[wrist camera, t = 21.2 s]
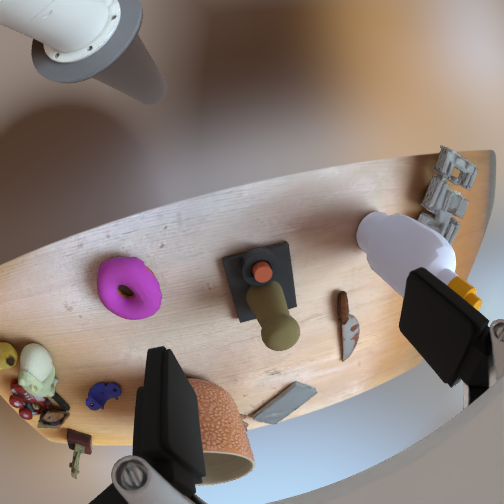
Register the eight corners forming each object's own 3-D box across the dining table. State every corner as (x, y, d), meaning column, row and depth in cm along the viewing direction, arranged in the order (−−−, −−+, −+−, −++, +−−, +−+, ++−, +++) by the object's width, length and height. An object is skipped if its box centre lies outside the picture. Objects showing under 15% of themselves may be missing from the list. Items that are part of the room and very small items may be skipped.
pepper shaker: (286, 303, 46) (309, 347, 36) (251, 315, 45) (267, 363, 35) (278, 273, 43) (302, 316, 33) (241, 286, 42) (256, 333, 33)
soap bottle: (338, 250, 44) (433, 344, 23) (363, 193, 41) (483, 258, 20) (379, 263, 48) (467, 344, 26) (402, 214, 44) (506, 277, 23)
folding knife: (71, 411, 49) (64, 411, 49) (72, 407, 50) (65, 407, 50) (46, 386, 44) (39, 387, 44) (48, 383, 46) (41, 384, 46)
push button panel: (220, 253, 41) (222, 262, 38) (285, 236, 42) (291, 244, 39) (239, 318, 47) (241, 329, 44) (294, 302, 47) (300, 312, 45)
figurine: (62, 349, 42) (48, 386, 33) (58, 390, 47) (49, 422, 38) (22, 328, 39) (3, 361, 30) (24, 372, 43) (11, 402, 34)
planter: (210, 350, 48) (223, 440, 31) (251, 402, 58) (270, 471, 41) (123, 380, 48) (114, 459, 31) (176, 424, 58) (180, 489, 41)
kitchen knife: (360, 354, 58) (342, 364, 57) (356, 350, 59) (339, 360, 58) (362, 285, 47) (340, 296, 46) (357, 280, 49) (335, 292, 48)
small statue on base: (93, 445, 60) (92, 483, 47) (70, 439, 57) (67, 477, 44) (91, 433, 57) (90, 476, 44) (66, 427, 54) (62, 469, 41)
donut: (98, 249, 37) (88, 263, 32) (163, 253, 39) (159, 267, 35) (105, 306, 41) (99, 323, 37) (164, 310, 43) (162, 328, 39)
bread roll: (36, 429, 43) (32, 417, 44) (60, 429, 50) (55, 418, 52) (45, 412, 43) (41, 400, 45) (71, 413, 50) (67, 402, 52)
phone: (297, 384, 56) (295, 380, 57) (251, 419, 59) (250, 415, 61) (318, 391, 60) (316, 388, 61) (274, 424, 63) (273, 421, 64)
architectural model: (437, 274, 49) (425, 261, 54) (483, 168, 37) (467, 160, 41) (401, 270, 47) (389, 255, 52) (450, 147, 35) (433, 140, 39)
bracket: (81, 400, 43) (81, 394, 45) (95, 413, 45) (94, 406, 47) (111, 380, 47) (110, 374, 49) (125, 394, 49) (123, 387, 51)
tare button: (250, 263, 39) (252, 269, 38) (267, 258, 40) (271, 264, 38) (253, 278, 41) (256, 284, 39) (270, 274, 41) (273, 280, 39)
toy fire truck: (27, 424, 41) (56, 421, 46) (3, 395, 36) (35, 392, 41) (27, 405, 46) (55, 401, 51) (5, 375, 41) (36, 371, 46)
